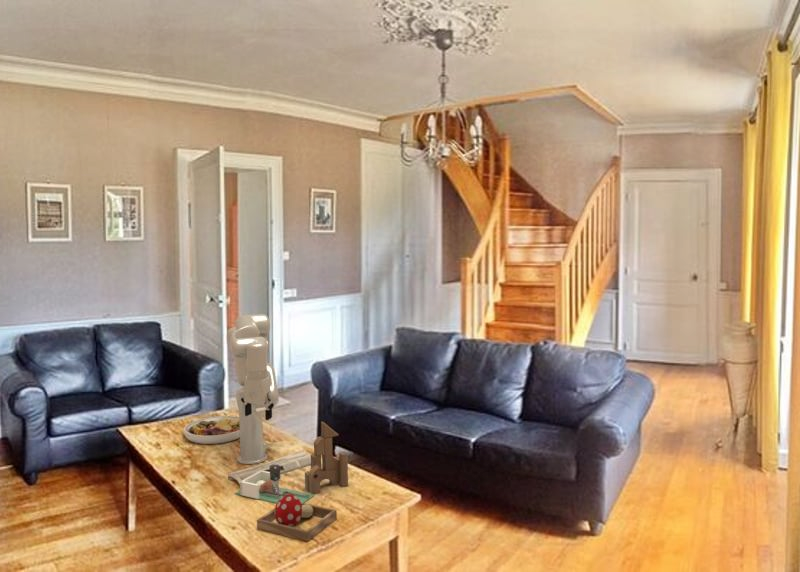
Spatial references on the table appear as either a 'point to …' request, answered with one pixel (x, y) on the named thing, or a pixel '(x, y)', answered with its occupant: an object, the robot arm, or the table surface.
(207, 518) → the table surface
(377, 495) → the table surface
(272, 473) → the knobbed pusher
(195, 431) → the bowl
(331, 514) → the display tray
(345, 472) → the wooden toy
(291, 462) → the newspaper
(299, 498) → the green railed board
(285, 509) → the decorative mushroom
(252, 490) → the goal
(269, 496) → the rail
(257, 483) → the ball
